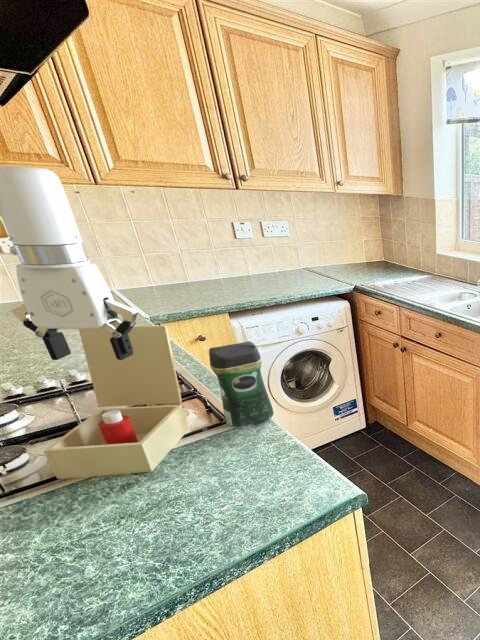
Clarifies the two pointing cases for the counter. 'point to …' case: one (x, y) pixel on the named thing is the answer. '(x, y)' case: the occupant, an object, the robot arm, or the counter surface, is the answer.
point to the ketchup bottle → (117, 428)
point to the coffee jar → (241, 383)
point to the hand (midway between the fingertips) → (94, 357)
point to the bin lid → (132, 368)
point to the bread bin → (100, 459)
